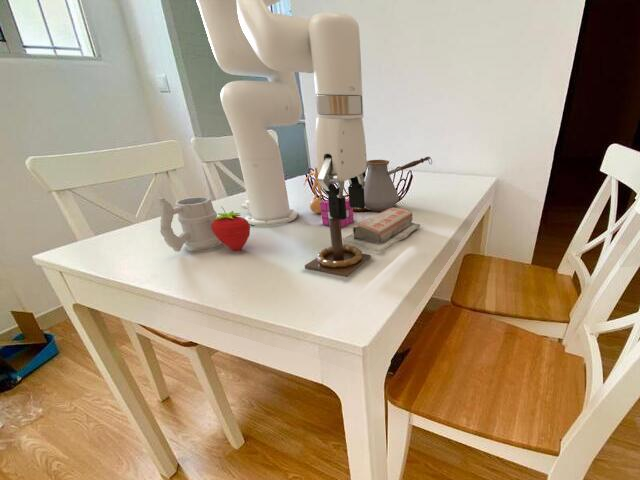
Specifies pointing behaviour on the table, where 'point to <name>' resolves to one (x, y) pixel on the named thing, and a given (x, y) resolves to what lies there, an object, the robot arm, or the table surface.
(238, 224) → the strawberry
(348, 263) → the ring
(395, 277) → the table surface
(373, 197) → the coffee pot
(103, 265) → the table surface
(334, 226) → the brown peg stand
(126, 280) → the table surface
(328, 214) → the puzzle toy
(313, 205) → the figurine
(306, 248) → the table surface
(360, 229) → the packaged product
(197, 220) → the mug
